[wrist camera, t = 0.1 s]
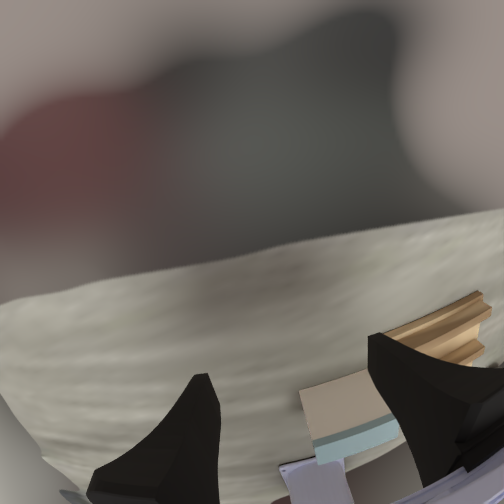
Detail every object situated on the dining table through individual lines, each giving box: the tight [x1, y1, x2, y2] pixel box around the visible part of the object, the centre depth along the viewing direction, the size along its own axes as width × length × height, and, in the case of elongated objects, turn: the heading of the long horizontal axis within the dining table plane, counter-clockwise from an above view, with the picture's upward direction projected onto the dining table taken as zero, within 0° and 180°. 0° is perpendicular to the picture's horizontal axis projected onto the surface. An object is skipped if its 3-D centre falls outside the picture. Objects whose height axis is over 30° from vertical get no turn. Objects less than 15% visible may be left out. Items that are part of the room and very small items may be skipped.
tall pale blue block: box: [299, 368, 399, 465], centre depth 21 cm, size 3×7×7 cm, turn 105°
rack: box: [384, 291, 492, 427], centre depth 23 cm, size 12×13×3 cm
